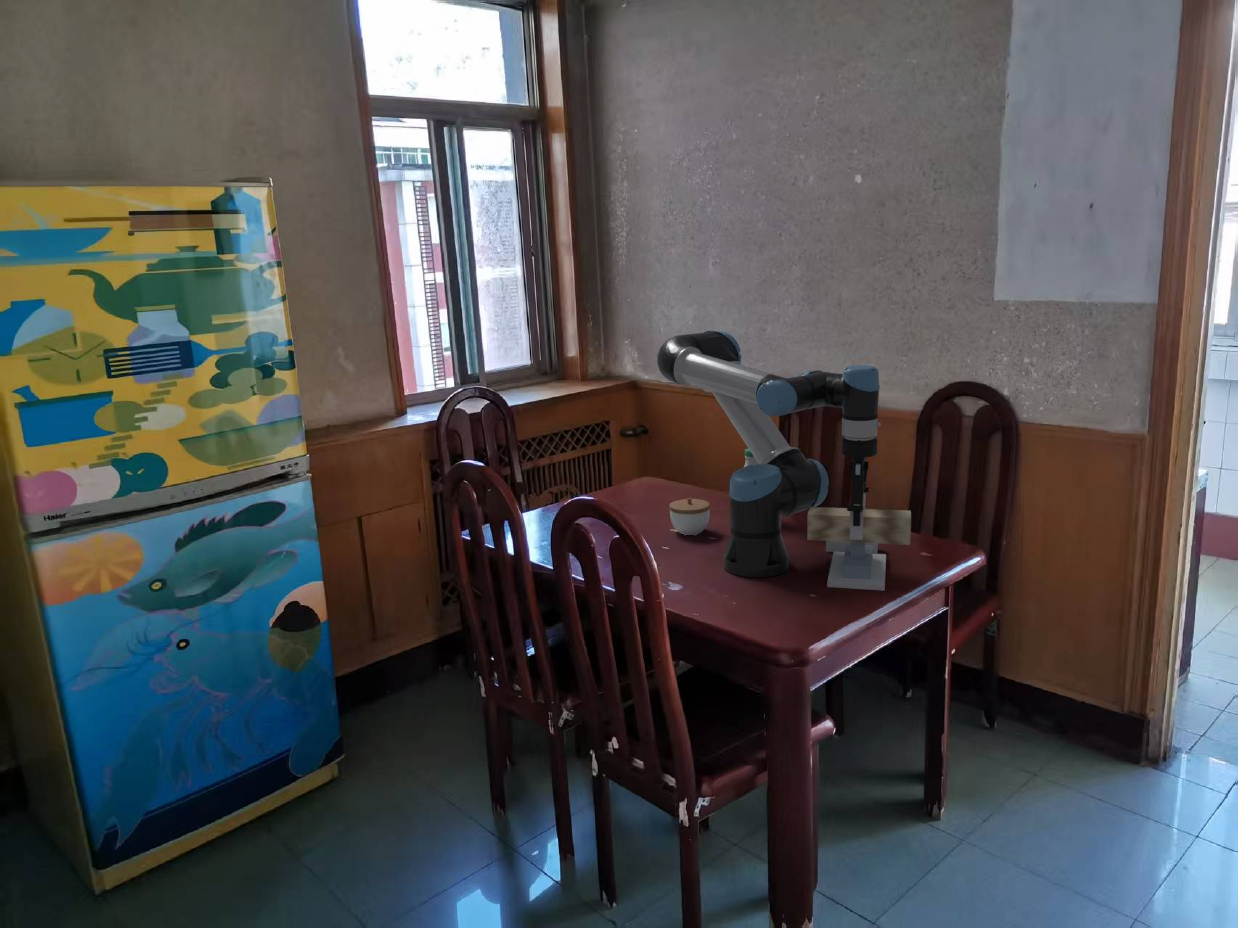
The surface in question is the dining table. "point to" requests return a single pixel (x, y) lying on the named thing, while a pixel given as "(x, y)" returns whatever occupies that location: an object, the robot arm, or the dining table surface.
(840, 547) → the slab
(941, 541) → the dining table surface
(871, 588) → the fulcrum stand
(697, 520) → the lidded jar
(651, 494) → the dining table surface
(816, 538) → the pine batten
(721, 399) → the robot arm
